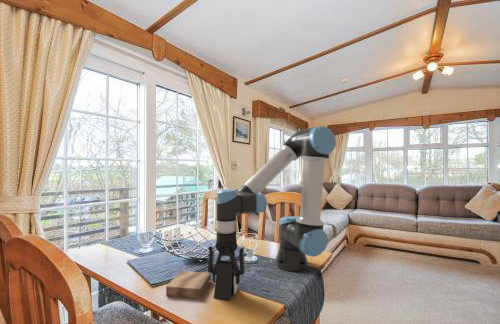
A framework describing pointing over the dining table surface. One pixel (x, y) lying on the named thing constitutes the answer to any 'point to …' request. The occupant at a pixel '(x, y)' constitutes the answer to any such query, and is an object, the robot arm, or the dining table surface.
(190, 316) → the dining table surface
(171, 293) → the brown flat block
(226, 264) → the phone stand
